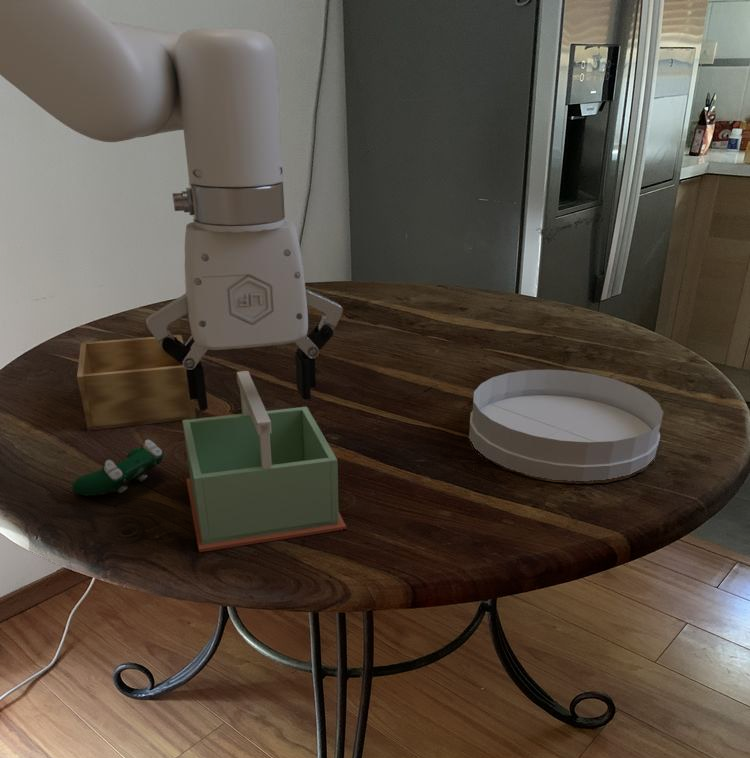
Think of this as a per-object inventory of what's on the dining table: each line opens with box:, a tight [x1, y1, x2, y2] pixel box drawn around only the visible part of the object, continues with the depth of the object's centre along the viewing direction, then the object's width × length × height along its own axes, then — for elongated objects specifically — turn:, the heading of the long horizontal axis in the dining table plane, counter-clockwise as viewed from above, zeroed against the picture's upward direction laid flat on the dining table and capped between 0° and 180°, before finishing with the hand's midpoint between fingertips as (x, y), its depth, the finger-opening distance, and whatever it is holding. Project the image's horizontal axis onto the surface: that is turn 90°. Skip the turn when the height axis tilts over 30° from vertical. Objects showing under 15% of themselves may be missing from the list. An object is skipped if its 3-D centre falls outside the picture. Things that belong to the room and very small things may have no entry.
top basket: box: [181, 370, 339, 545], centre depth 72 cm, size 13×13×12 cm
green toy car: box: [71, 439, 164, 497], centre depth 77 cm, size 9×4×6 cm
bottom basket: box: [76, 334, 197, 431], centre depth 95 cm, size 13×13×7 cm
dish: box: [468, 368, 664, 481], centre depth 87 cm, size 22×22×5 cm
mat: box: [185, 477, 347, 553], centre depth 75 cm, size 14×14×1 cm
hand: (254, 399), depth 69 cm, fingers open, 9 cm apart
